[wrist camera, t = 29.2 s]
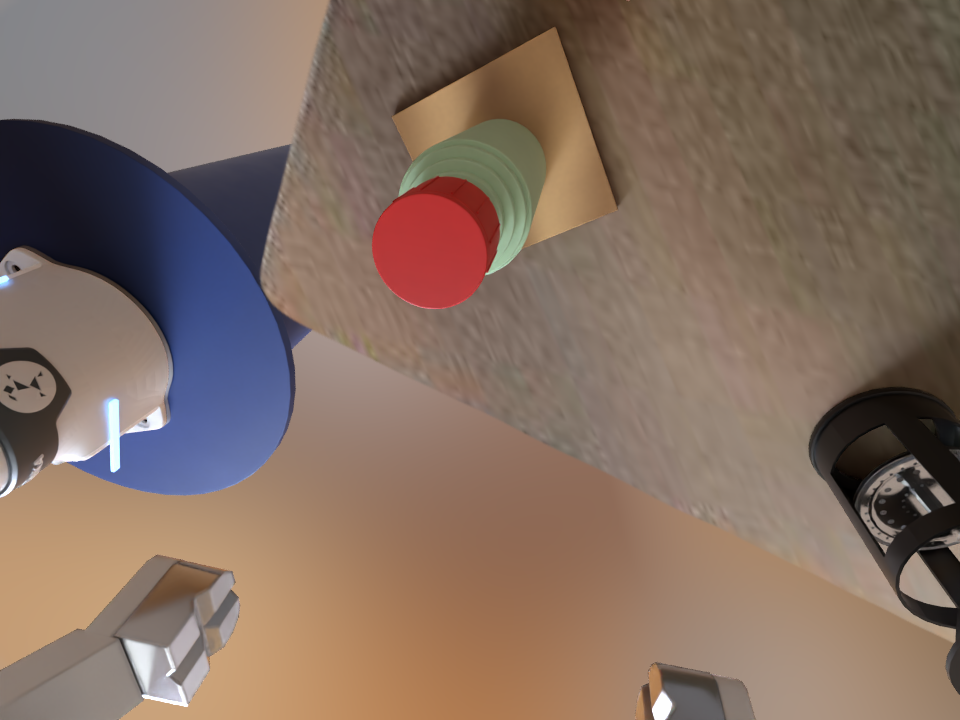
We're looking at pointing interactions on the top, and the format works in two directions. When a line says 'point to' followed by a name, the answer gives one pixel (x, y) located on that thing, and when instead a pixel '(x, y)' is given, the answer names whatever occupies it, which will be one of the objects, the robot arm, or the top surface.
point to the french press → (902, 492)
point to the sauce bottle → (491, 175)
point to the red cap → (436, 242)
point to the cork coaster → (542, 110)
